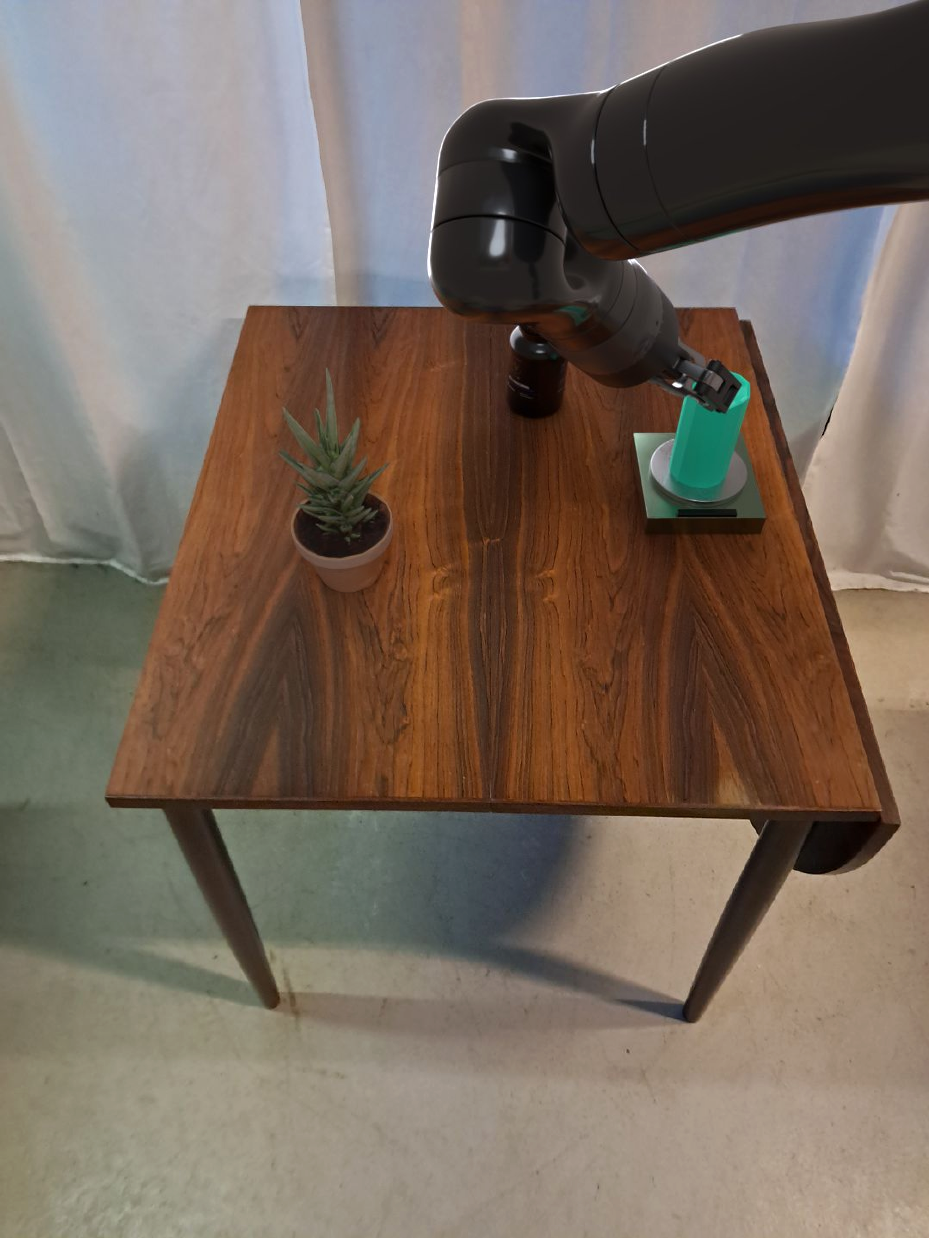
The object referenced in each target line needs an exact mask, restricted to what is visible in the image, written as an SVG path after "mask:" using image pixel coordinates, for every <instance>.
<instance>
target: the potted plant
mask: <svg viewBox="0 0 929 1238" xmlns="http://www.w3.org/2000/svg"><path fill="white" fill-rule="evenodd" d="M325 381H326V382H325V383H326V411H325V426H324V423H323V421H322V418H321V415H320V412H319V410H318V409H317V408H316V407H313V409H314V418H315V419H314V420H315V425H316V431H317V439H318V444H317V443H316V442H315V440H314V439H313V438H312V437H311V436H310V435H309V434H308V433H307V431H305V429H304V428H303V427H302V426H301V425H300V424H299V423H298V421H297V420H296V419H295V418H294V417H293V416H292V415H291V414H290V412H289V411H288V410H287V409H286V408H285V407H283V406H282V407H281V408H282V413H283V416H284V418H285V421H286V422H287V425H288V427H289V429H290V431H291V433H292V435H293V437H294V438H295V439H296V441H297V443H298V445H299V446H300V447H301V449H302V450H303V452H304V454H305V455H306V456H307V458H308V459H309V461H310V462H311V465H312V466H313V467H311V466H310V465H307V464H305V463H303V462H300V461H298V460H297V459H295V458H293V457H292V456H291V455H290V454H289V453H288V451H287V450H286V449H285V448H284V447H283V446H281V447H280V449H281V450H282V451H280V450H279V449H278V450H277V454H278V455H279V456H280V458H282V459H283V460H284V462H286V464H288V465H289V466H290V468H292V469H293V470H295V472H297V473H298V474H299V475H300V477H301V478H302V479H303V480H304V481H305V482H306V484H308V486H309V487H310V488H309V487H307V486H306V485H303V484H302V483H299V482H297V481H296V480H293V481H292V482H293V484H294V485H295V486H296V487H298V489H300V490H301V491H302V492H303V493H304V494H305V495H307V497H306V498H304V499H303V500H301V502H300V503H297V502H295V503H294V504H293V506H296V508H295V509H294V511H293V513H292V516H291V519H290V522H289V523H290V533H291V536H292V540H293V543H294V546H295V548H296V550H297V552H298V553H299V554H300V556H301V557H302V558H304V559H305V561H307V562H309V563H310V564H311V566H312V567H313V569H314V570H315V572H316V574H318V576H319V577H320V579H321V581H322V582H323V583H324V585H326V586H327V587H328V588H329V589H331V590H333V591H336V592H339V593H356V592H359V591H363V590H365V589H367V588H368V589H369V588H370V587H371V586H372V585H373V584H375V583H376V581H377V580H378V578H379V576H380V574H381V572H382V570H383V558H384V554H385V551H386V550H387V549H388V546H389V545H390V544H391V542H392V538H393V535H394V530H395V529H394V528H395V526H394V520H393V514H392V513H393V512H392V510H391V508H390V506H389V504H388V502H387V501H386V500H385V499H384V498H383V497H382V496H381V495H380V494H379V493H377V492H375V491H373V490H371V489H370V488H371V486H372V485H373V483H374V482H375V481H376V479H377V478H379V476H381V474H382V473H383V472H384V471H385V470H386V469H387V468H388V466H389V465H390V463H391V460H389V461H386V463H385V464H384V465H383V466H382V467H380V468H378V469H377V470H376V469H375V470H374V471H373V472H372V473H371V474H370V473H369V474H367V475H365V476H363V477H362V478H360V476H361V474H362V472H363V470H364V468H365V467H366V465H367V461H368V455H365V456H364V457H363V458H362V459H361V461H359V463H358V464H356V465H355V466H354V467H353V465H354V460H355V456H356V450H357V446H358V438H359V433H360V427H361V426H360V425H361V424H360V423H361V422H360V421H361V419H360V417H359V416H358V417H357V418H356V419H355V421H354V423H353V425H352V427H351V430H350V432H349V434H347V437H346V438H345V440H343V442H342V443H341V444H340V443H339V435H338V425H337V423H338V422H337V415H336V405H335V404H336V403H335V402H336V401H335V397H334V396H335V395H334V389H333V384H332V379H331V374H330V371H329V369H328V367H327V366H326V367H325ZM359 478H360V479H359Z"/></svg>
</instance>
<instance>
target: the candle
mask: <svg viewBox="0 0 929 1238" xmlns="http://www.w3.org/2000/svg"><path fill="white" fill-rule="evenodd" d="M729 371H730V372H731V373H732V374H733V375H734V376H735V377H736V379H737V380H739V382H740V383H741V384H742V386H741V388H740V390H739V391H738V393H737V395H736V397H735V398H734V400H733V402H732V404H731V405H730V407H729V409H728V411H727V412H726V414H724V413H718V412H716V411H713V412H711V411H709V410H707V409H705V408H703V407H702V406H701V405H699V404H697V401H695V400H694V399H692V398H690V397H689V396H686V397H685V398H683V401H682V405H681V410H680V415H679V419H678V423H677V428H676V432H675V433H676V436H675V440H674V445H673V449H672V453H671V458H670V472H671V473H672V474H673V476H674V477H675V478H676V479H677V481H679V482H681V483H683V484H686V485H688V486H690V487H697V488H709V487H712V486H715V485H718V484H720V483H721V481H722V480H723V479H724V478H725V477H726V475H727V472H728V468H729V465H730V462H731V458H732V455H733V452H734V449H735V445H736V442H737V439H738V435H739V433H741V432H740V431H741V428H742V425H743V422H744V419H745V416H746V412H747V409H748V405H749V403H750V399H751V383H750V382H749V381H748V380H747V379H746V378H744V376H742V375H741V374H738V373H736V372H734V371H732V370H729ZM695 385H696V382H694V383H693V385H692V389H694V387H695Z"/></svg>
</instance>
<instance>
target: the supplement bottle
mask: <svg viewBox="0 0 929 1238" xmlns="http://www.w3.org/2000/svg"><path fill="white" fill-rule="evenodd" d="M507 350H508V351H507V352H508V353H507V367H506V368H507V371H506V387H505V398H506V404H507V405H508V406H509V408H510V409H511V410H512V411H513V412H515V414H518V415H520V416H522V417H525V418H529V419H542V418H546V417H550V416H552V415H554V414H556V413H557V412H558V411H559V410H560V409H561V407H562V406H563V403H564V399H565V393H566V384H567V374H568V367H569V361H567V360H566V359H565V358H563V357H562V356H561V355H560V354H559V353H557V352H556V351H555V350H554V348H553V347H552V346H551V345H550V343H549V342H548V341H547V340H546V339H544V338H543V337H541V336H540V335H539V334H537V333H536V332H534V331H533V330H531V329H529V328H525V327H522V326H516V327H515V328H514V329H513V330H512V332H511V333H510V336H509V340H508V349H507Z"/></svg>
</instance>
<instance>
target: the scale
mask: <svg viewBox="0 0 929 1238" xmlns="http://www.w3.org/2000/svg"><path fill="white" fill-rule="evenodd" d="M675 436H676V432H633V434H632V440H631V444H630V445H631V446H630V455H631V460H632V461H631V462H632V467H633V473H634V479H635V480H634V481H635V486H636V491H637V499H638V503H639V510H640V517H641V523H642V529H643V534H644V535H761V534H762V531H763V530H764V529H763V528H764V526H765V523H766V521H767V515H766V511H765V507H764V504H763V500H762V497H761V493H760V489H759V487H758V483H757V479H756V475H755V472H754V468H753V465H752V462H751V461H752V460H751V458H750V454H749V450H748V448H747V444H746V441H745V437H744V433H743V432H739V435H738V439H737V442H736V445H735V449H734V452H733V455H732V458H731V462H730V465H729V468H728V472H727V475H726V477H725V478H724V479H723V480H722V481H721V483H720V484H718V485H715V486H712V487H709V488H697V487H690V486H688V485H686V484H683V483H681V482H679V481H677V479H676V478H675V477H674V476H673V474H672V473H671V472H670V458H671V453H672V449H673V445H674V440H675Z"/></svg>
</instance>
